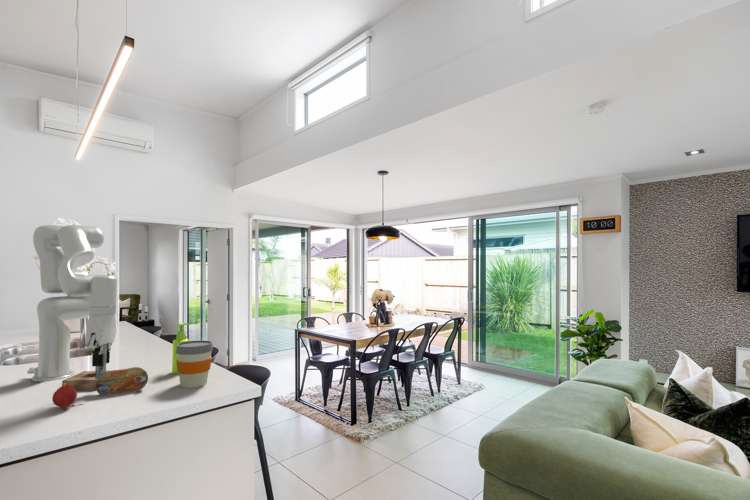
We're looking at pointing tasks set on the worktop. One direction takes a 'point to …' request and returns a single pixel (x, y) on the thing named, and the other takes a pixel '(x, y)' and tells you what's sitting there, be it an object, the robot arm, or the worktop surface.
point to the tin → (121, 381)
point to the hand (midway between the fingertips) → (100, 364)
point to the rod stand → (82, 381)
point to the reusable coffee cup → (194, 362)
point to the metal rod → (102, 369)
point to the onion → (64, 396)
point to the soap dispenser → (180, 338)
